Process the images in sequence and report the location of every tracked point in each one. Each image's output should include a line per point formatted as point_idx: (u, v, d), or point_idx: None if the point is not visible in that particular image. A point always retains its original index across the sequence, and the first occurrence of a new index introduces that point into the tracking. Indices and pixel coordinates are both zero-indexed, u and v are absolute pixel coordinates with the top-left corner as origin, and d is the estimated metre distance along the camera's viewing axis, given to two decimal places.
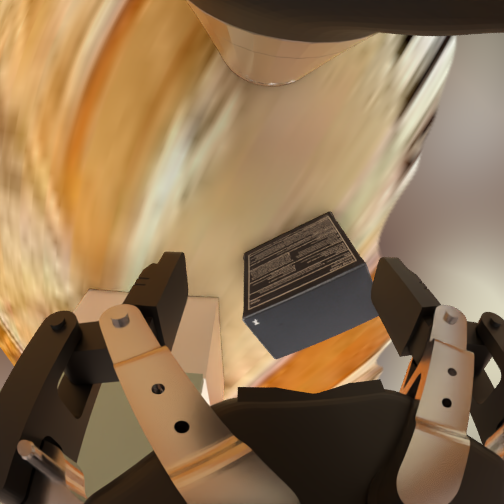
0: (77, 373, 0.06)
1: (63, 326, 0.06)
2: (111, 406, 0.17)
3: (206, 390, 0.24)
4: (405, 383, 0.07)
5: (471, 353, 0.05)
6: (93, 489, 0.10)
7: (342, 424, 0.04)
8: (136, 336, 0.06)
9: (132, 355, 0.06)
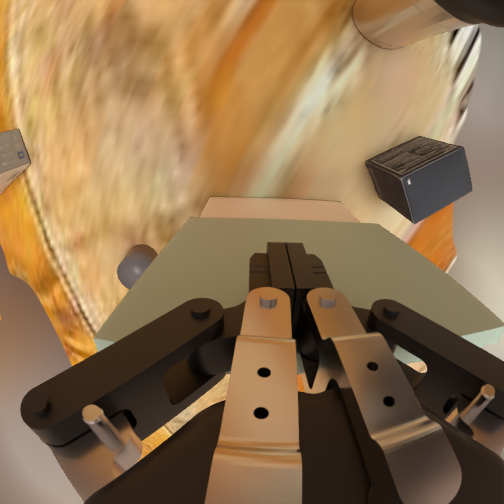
0: (198, 363, 0.07)
1: (209, 313, 0.07)
2: (329, 237, 0.21)
3: None
4: (308, 382, 0.07)
5: (377, 334, 0.06)
6: (384, 280, 0.14)
7: (342, 424, 0.04)
8: (274, 321, 0.07)
9: (261, 335, 0.06)
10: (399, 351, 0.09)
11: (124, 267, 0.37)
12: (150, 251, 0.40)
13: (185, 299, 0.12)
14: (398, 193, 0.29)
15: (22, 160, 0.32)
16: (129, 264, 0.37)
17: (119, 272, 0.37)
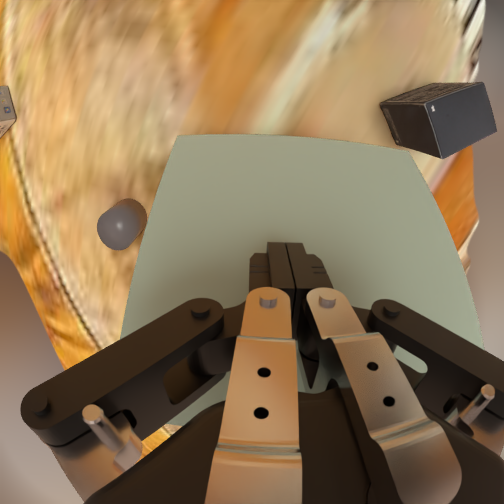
0: (198, 363, 0.07)
1: (210, 313, 0.07)
2: (351, 186, 0.16)
3: None
4: (308, 382, 0.07)
5: (377, 334, 0.06)
6: (401, 300, 0.12)
7: (342, 424, 0.04)
8: (274, 321, 0.07)
9: (261, 335, 0.06)
10: None
11: (105, 221, 0.31)
12: (137, 204, 0.34)
13: None
14: (421, 126, 0.22)
15: (7, 115, 0.25)
16: (110, 216, 0.30)
17: (99, 227, 0.31)
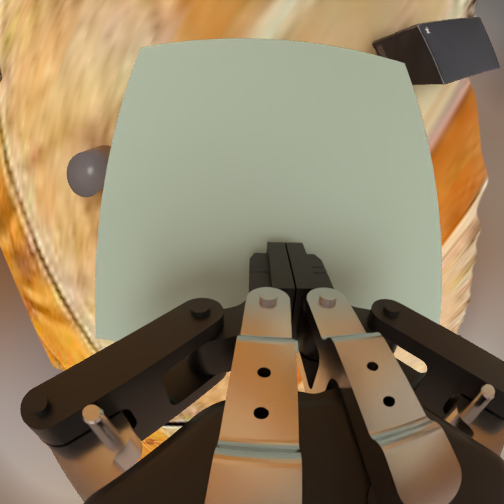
0: (198, 363, 0.07)
1: (209, 313, 0.07)
2: (325, 101, 0.13)
3: None
4: (308, 382, 0.07)
5: (378, 334, 0.06)
6: (358, 237, 0.13)
7: (342, 424, 0.04)
8: (274, 321, 0.07)
9: (261, 335, 0.06)
10: None
11: (74, 165, 0.26)
12: None
13: (146, 276, 0.12)
14: (417, 51, 0.17)
15: None
16: (80, 159, 0.25)
17: (69, 173, 0.26)
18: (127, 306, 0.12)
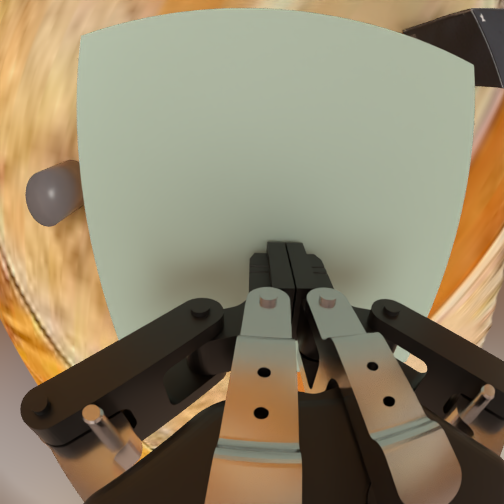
0: (198, 363, 0.07)
1: (209, 313, 0.07)
2: (355, 136, 0.10)
3: None
4: (308, 382, 0.07)
5: (378, 334, 0.06)
6: (354, 298, 0.13)
7: (342, 424, 0.04)
8: (274, 321, 0.07)
9: (261, 335, 0.06)
10: None
11: (33, 187, 0.19)
12: (77, 166, 0.22)
13: None
14: (468, 43, 0.10)
15: None
16: (38, 180, 0.19)
17: (28, 196, 0.19)
18: None
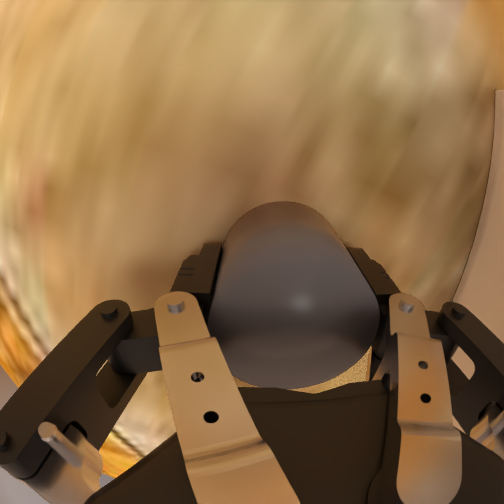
0: (121, 363, 0.07)
1: (116, 314, 0.07)
2: None
3: None
4: (370, 377, 0.07)
5: (438, 341, 0.05)
6: None
7: (342, 424, 0.04)
8: (188, 324, 0.07)
9: (180, 341, 0.06)
10: None
11: (257, 304, 0.07)
12: (330, 226, 0.11)
13: None
14: None
15: None
16: (296, 286, 0.07)
17: (220, 326, 0.08)
18: None
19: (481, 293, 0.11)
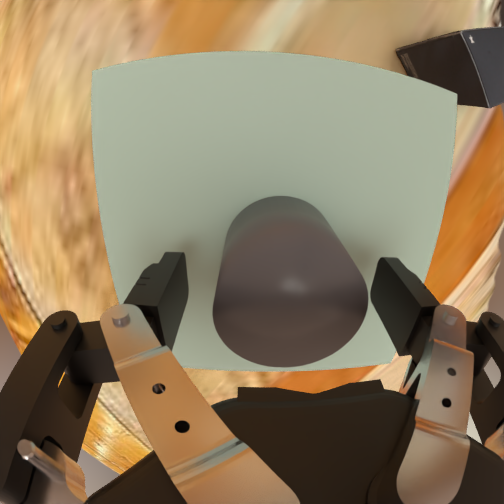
0: (78, 373, 0.06)
1: (64, 326, 0.06)
2: (340, 169, 0.12)
3: None
4: (404, 383, 0.07)
5: (471, 353, 0.05)
6: None
7: (342, 424, 0.04)
8: (137, 336, 0.06)
9: (133, 355, 0.06)
10: None
11: (258, 284, 0.08)
12: (324, 218, 0.12)
13: None
14: (457, 65, 0.12)
15: None
16: (292, 267, 0.08)
17: (225, 304, 0.09)
18: None
19: None
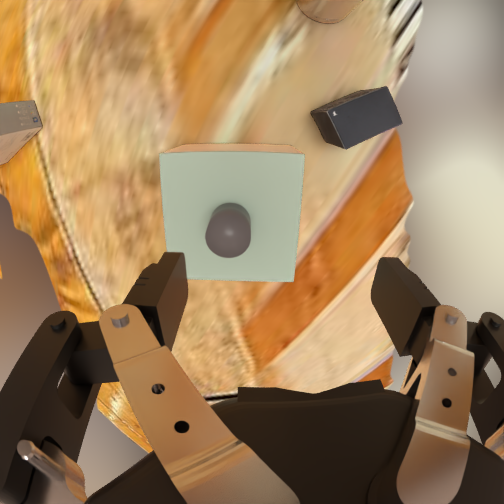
0: (77, 373, 0.06)
1: (63, 326, 0.06)
2: (250, 192, 0.35)
3: None
4: (405, 383, 0.07)
5: (471, 353, 0.05)
6: (258, 247, 0.38)
7: (342, 424, 0.04)
8: (136, 336, 0.06)
9: (132, 355, 0.06)
10: None
11: (218, 226, 0.31)
12: (244, 210, 0.35)
13: (187, 259, 0.39)
14: (330, 127, 0.35)
15: (36, 123, 0.38)
16: (226, 222, 0.31)
17: (209, 232, 0.32)
18: None
19: None
